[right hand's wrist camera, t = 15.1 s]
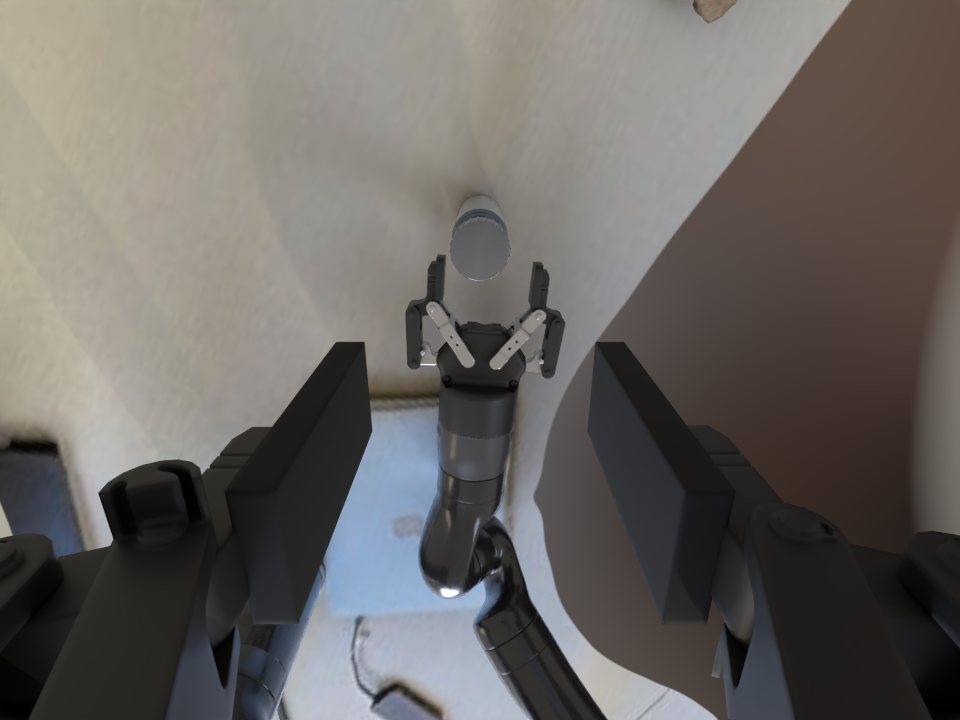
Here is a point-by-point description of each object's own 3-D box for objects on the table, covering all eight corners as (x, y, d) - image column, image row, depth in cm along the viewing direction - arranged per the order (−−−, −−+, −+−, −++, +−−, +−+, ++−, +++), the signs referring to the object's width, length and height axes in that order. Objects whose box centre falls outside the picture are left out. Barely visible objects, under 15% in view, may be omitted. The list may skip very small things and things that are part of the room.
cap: (440, 253, 36) (437, 259, 34) (472, 204, 34) (471, 207, 33) (487, 285, 37) (487, 292, 35) (520, 238, 35) (522, 243, 33)
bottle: (450, 223, 51) (435, 258, 34) (474, 186, 49) (471, 204, 33) (485, 248, 51) (488, 293, 35) (510, 212, 50) (524, 241, 34)
